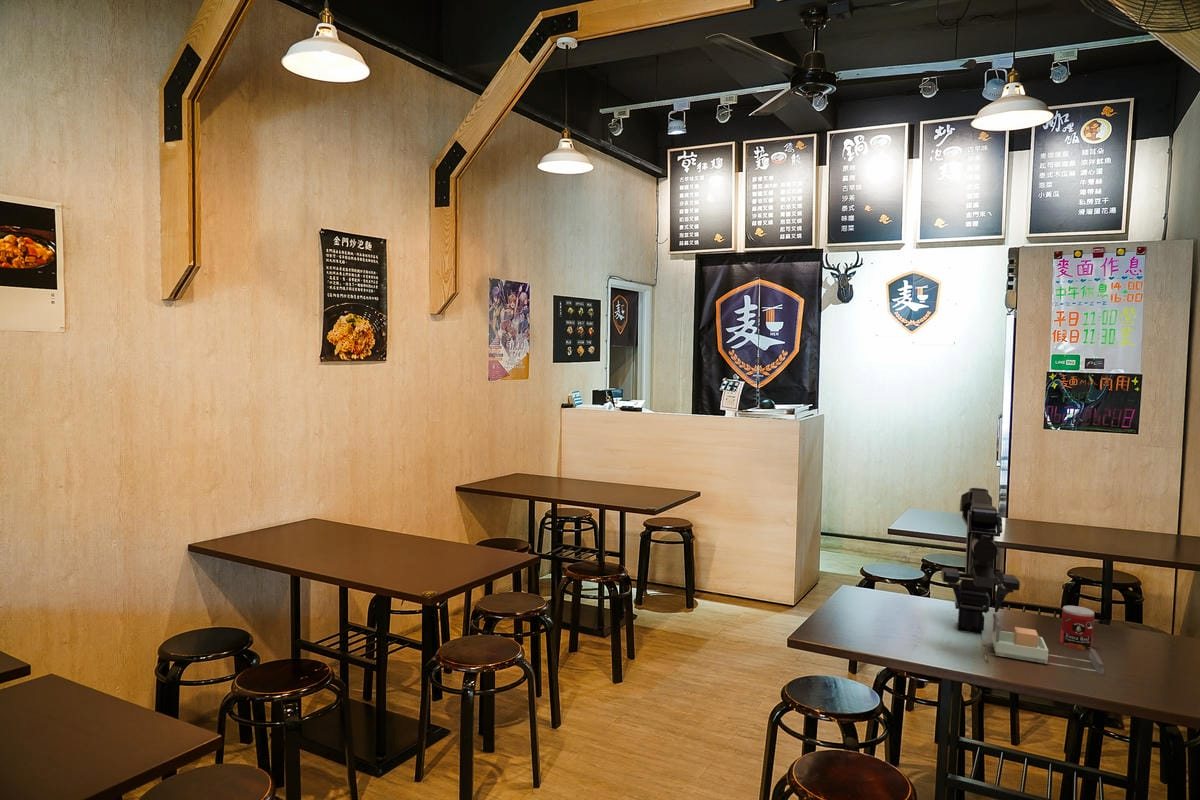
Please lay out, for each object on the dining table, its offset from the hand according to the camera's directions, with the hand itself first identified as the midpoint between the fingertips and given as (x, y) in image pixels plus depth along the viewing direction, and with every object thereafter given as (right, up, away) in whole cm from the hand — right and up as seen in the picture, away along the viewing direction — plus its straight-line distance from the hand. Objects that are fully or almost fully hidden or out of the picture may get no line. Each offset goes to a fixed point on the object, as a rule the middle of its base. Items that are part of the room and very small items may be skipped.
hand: (977, 609), depth 212 cm
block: (+11, -10, -4) cm, 15 cm away
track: (+14, -12, -5) cm, 19 cm away
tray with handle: (+9, -11, -3) cm, 15 cm away
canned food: (+31, -13, +6) cm, 34 cm away
